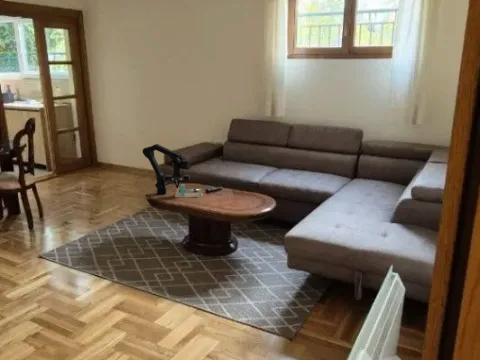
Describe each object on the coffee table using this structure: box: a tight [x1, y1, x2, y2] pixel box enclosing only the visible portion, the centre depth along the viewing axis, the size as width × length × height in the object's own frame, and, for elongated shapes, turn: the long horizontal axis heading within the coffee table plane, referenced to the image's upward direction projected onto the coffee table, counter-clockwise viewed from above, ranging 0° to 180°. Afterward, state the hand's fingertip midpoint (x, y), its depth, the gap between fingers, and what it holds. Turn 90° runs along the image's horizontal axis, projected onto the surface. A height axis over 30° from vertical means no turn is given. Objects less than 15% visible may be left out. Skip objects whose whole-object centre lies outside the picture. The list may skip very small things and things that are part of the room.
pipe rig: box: [174, 187, 204, 198], centre depth 323 cm, size 21×8×5 cm, turn 94°
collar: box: [179, 183, 186, 195], centre depth 322 cm, size 3×5×7 cm, turn 4°
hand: (177, 188), depth 321 cm, fingers closed
